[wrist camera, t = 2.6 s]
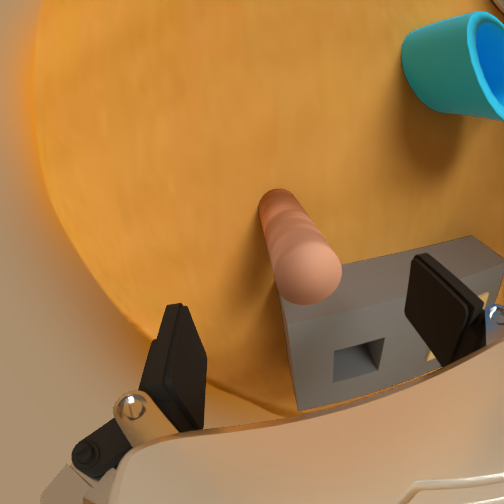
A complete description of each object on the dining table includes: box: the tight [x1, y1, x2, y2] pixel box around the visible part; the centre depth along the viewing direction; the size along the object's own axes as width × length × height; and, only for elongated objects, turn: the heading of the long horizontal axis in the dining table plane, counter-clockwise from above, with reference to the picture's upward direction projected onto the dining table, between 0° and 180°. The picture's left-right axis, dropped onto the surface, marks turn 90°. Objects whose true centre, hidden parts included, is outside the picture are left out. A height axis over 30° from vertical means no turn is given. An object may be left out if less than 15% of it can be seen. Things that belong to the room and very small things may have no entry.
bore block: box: [279, 236, 504, 411], centre depth 23 cm, size 22×12×6 cm, turn 100°
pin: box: [258, 189, 342, 305], centre depth 17 cm, size 3×3×10 cm
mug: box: [401, 11, 504, 121], centre depth 12 cm, size 12×8×8 cm
